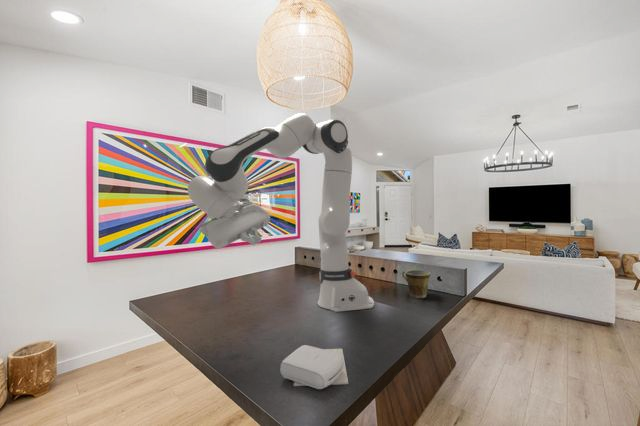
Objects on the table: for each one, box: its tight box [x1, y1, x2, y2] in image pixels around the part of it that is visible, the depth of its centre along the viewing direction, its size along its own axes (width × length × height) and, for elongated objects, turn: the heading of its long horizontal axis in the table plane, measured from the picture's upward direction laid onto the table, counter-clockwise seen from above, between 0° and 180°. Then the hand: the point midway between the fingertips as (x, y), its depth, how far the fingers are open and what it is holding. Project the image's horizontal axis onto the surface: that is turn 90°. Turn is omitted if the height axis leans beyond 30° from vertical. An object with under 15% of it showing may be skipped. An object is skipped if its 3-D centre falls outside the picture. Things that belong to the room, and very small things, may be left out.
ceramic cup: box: [401, 269, 431, 299], centre depth 123 cm, size 13×10×10 cm
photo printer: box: [279, 344, 345, 390], centre depth 66 cm, size 10×4×12 cm
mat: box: [293, 348, 349, 387], centre depth 70 cm, size 12×15×1 cm
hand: (257, 242), depth 82 cm, fingers closed
